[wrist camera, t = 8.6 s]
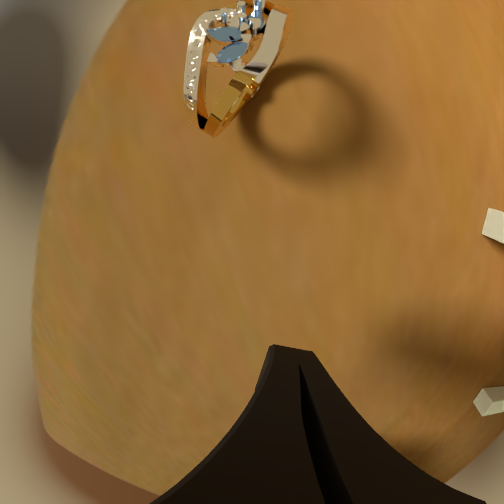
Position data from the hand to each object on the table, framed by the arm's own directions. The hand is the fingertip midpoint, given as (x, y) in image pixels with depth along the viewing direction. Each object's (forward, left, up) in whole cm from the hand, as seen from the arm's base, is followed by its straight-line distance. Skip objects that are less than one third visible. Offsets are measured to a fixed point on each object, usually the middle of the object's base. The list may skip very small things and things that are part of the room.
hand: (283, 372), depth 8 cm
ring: (+10, +4, -10) cm, 14 cm away
